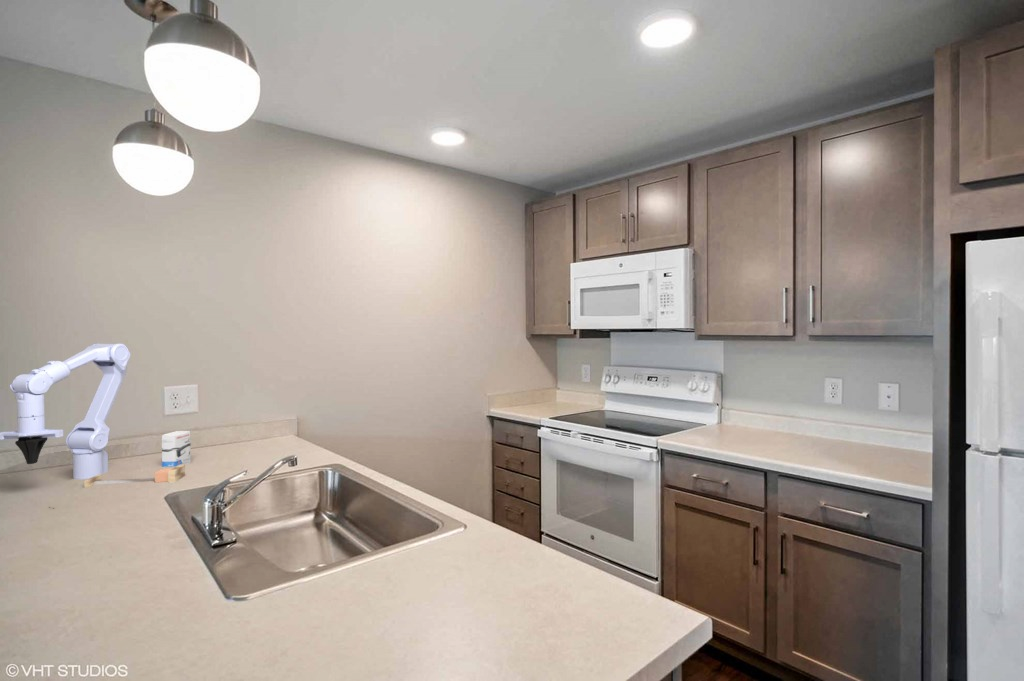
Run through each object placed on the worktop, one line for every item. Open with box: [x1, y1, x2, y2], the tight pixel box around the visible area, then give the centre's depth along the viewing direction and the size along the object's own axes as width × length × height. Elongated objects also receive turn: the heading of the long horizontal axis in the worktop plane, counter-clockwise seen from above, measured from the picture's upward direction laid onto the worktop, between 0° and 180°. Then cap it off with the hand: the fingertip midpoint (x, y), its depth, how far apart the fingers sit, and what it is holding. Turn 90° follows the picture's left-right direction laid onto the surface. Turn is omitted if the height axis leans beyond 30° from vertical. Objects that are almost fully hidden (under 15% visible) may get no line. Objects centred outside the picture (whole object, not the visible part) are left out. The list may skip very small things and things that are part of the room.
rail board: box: [83, 464, 186, 489], centre depth 156 cm, size 7×24×4 cm, turn 102°
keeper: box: [154, 467, 174, 483], centre depth 158 cm, size 5×4×3 cm
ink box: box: [161, 430, 192, 468], centre depth 177 cm, size 8×5×12 cm, turn 179°
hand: (32, 463), depth 146 cm, fingers closed
